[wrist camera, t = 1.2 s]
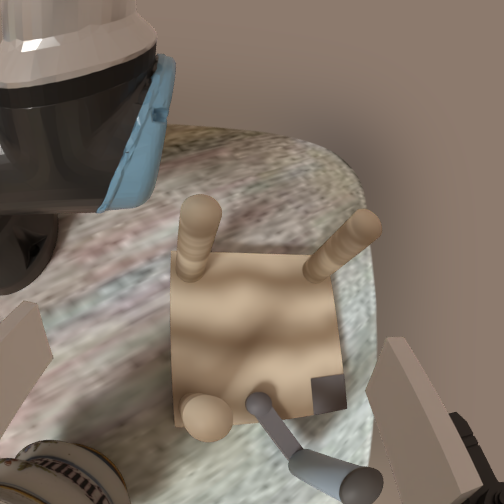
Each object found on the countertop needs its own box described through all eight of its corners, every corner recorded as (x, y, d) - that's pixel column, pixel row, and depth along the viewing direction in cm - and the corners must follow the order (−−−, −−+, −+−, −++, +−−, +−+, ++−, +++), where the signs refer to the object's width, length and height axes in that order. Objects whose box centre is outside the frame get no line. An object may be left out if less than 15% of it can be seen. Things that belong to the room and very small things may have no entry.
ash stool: (170, 259, 35) (174, 187, 23) (318, 263, 40) (380, 206, 27) (174, 424, 28) (177, 450, 16) (335, 408, 33) (417, 408, 20)
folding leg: (235, 403, 28) (274, 411, 18) (264, 384, 29) (315, 380, 19) (296, 482, 26) (357, 517, 15) (321, 462, 27) (390, 486, 17)
